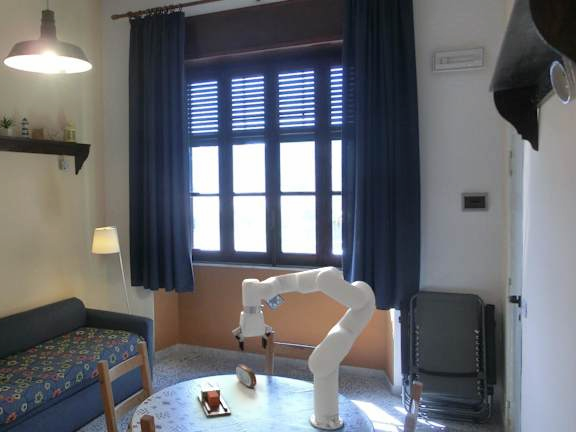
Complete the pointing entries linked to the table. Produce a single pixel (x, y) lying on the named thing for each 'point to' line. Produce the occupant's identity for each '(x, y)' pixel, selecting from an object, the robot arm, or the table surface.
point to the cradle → (213, 410)
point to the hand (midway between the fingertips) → (253, 348)
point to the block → (213, 398)
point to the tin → (246, 375)
